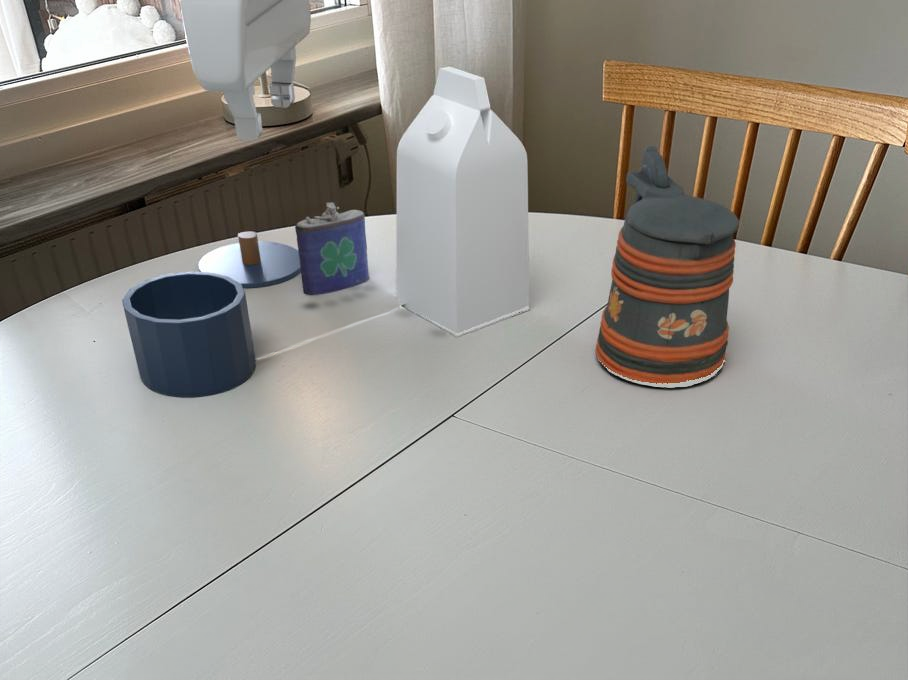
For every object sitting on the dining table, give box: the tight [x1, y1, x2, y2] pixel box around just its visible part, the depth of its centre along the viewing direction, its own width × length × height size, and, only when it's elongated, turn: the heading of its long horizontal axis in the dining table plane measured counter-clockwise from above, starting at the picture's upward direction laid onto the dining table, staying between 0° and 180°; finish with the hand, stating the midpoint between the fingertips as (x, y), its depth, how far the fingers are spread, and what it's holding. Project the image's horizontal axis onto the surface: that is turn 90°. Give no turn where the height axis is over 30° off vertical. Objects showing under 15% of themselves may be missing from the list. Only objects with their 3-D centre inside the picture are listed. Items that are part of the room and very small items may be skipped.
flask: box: [294, 201, 370, 296], centre depth 125 cm, size 9×3×11 cm, turn 124°
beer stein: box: [595, 145, 740, 389], centre depth 111 cm, size 19×15×20 cm
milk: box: [395, 66, 530, 338], centre depth 117 cm, size 12×12×26 cm
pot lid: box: [198, 230, 301, 289], centre depth 131 cm, size 14×14×5 cm
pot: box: [121, 271, 257, 398], centre depth 110 cm, size 13×13×8 cm
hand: (267, 121), depth 87 cm, fingers open, 8 cm apart
